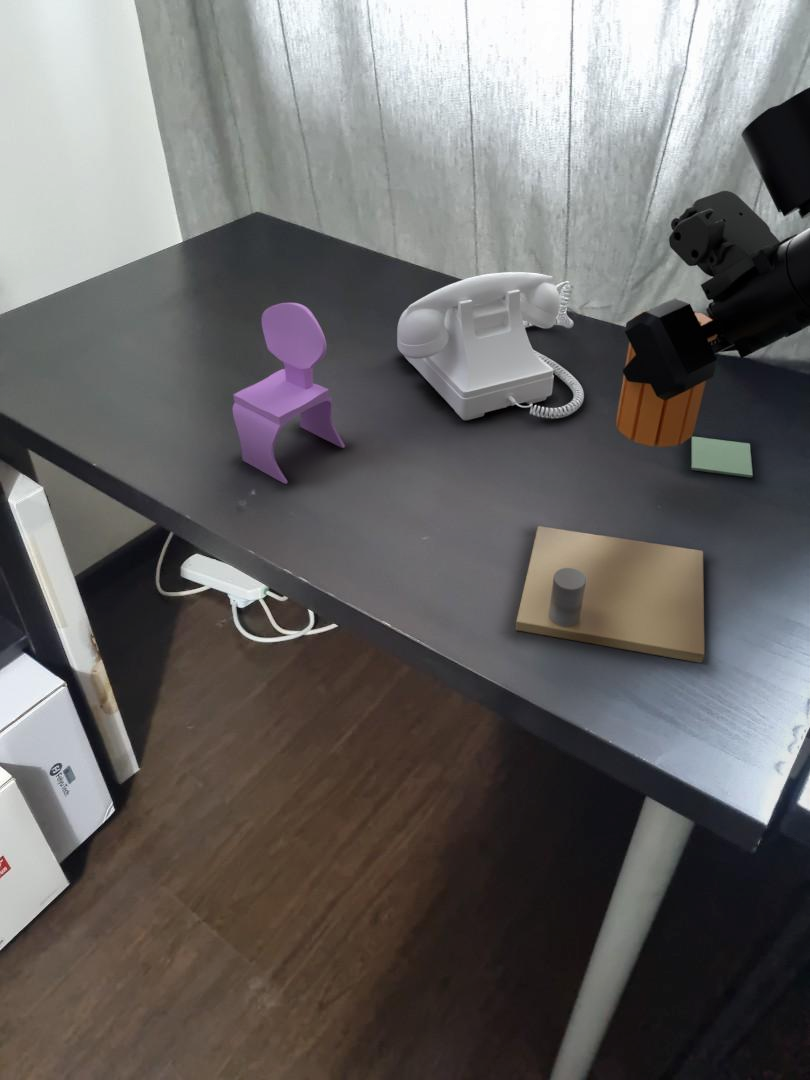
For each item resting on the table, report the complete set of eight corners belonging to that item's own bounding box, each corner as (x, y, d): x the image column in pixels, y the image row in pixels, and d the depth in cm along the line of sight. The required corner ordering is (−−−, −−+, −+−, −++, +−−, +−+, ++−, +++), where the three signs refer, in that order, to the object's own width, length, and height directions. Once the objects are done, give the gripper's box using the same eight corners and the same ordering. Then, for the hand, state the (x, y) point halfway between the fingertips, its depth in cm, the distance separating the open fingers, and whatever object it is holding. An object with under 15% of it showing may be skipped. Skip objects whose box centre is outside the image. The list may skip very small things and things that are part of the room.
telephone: (549, 320, 105) (559, 221, 97) (649, 396, 91) (671, 287, 82) (366, 361, 98) (361, 257, 90) (443, 451, 83) (445, 338, 75)
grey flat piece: (749, 445, 83) (749, 443, 83) (752, 477, 79) (752, 475, 79) (691, 438, 84) (692, 436, 84) (691, 469, 80) (691, 467, 80)
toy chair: (232, 458, 83) (206, 319, 73) (296, 422, 88) (279, 286, 78) (288, 491, 79) (269, 347, 69) (352, 450, 84) (343, 311, 74)
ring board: (700, 559, 70) (714, 513, 67) (701, 663, 62) (717, 616, 58) (536, 534, 73) (541, 489, 70) (515, 630, 64) (520, 583, 61)
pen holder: (707, 425, 71) (733, 323, 65) (665, 456, 68) (688, 351, 62) (644, 399, 75) (663, 299, 69) (601, 427, 72) (617, 325, 66)
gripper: (838, 138, 59) (680, 247, 73) (674, 195, 50) (530, 306, 64) (905, 278, 59) (736, 360, 73) (754, 359, 51) (594, 434, 65)
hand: (653, 362), depth 69 cm, fingers closed on pen holder, 6 cm apart
